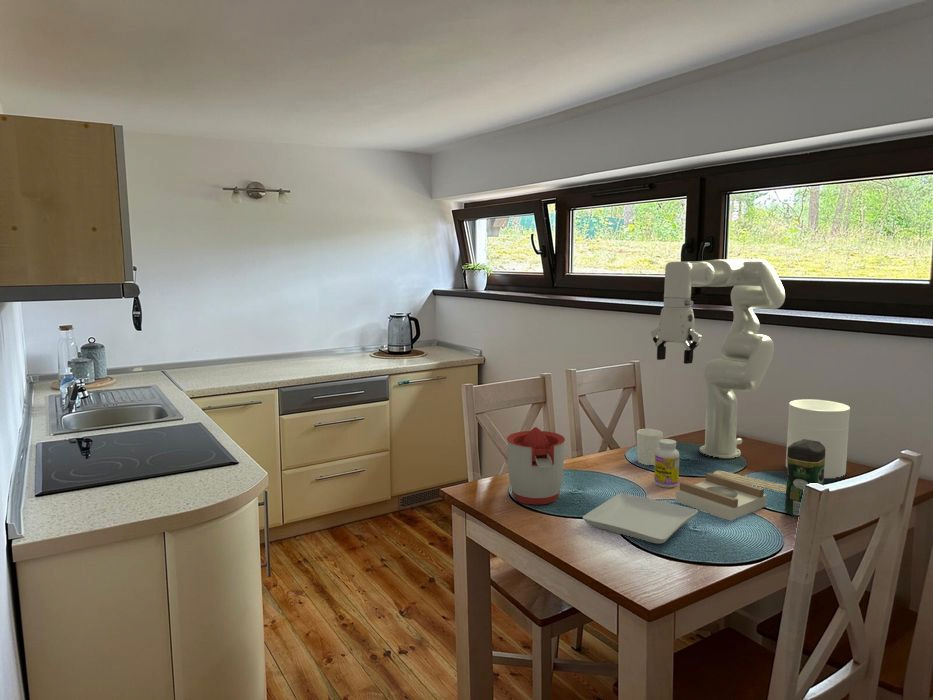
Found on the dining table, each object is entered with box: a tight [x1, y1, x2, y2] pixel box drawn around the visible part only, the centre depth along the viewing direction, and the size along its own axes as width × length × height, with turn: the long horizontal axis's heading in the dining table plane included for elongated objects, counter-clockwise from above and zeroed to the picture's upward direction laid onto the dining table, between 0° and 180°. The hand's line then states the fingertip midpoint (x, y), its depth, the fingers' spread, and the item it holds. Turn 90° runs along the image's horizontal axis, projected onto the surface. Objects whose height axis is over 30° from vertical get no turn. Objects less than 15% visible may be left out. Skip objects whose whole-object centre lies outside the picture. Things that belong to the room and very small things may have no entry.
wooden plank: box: [712, 470, 786, 492], centre depth 182 cm, size 24×7×2 cm, turn 45°
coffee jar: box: [784, 439, 825, 519], centre depth 159 cm, size 10×8×19 cm
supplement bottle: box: [653, 438, 680, 489], centre depth 181 cm, size 7×7×13 cm
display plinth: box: [675, 472, 767, 522], centre depth 167 cm, size 16×16×5 cm
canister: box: [785, 398, 851, 479], centre depth 191 cm, size 16×16×20 cm
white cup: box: [636, 428, 664, 466], centre depth 201 cm, size 8×8×10 cm
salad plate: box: [582, 492, 699, 544], centre depth 155 cm, size 21×21×3 cm
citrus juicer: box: [506, 426, 566, 505], centre depth 172 cm, size 16×17×20 cm
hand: (674, 361), depth 189 cm, fingers open, 9 cm apart
